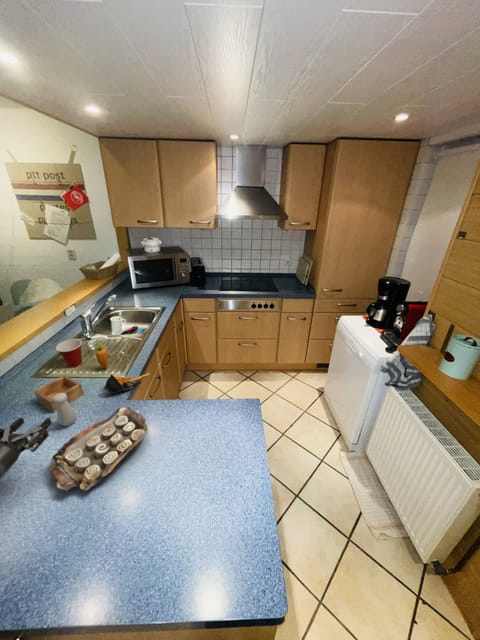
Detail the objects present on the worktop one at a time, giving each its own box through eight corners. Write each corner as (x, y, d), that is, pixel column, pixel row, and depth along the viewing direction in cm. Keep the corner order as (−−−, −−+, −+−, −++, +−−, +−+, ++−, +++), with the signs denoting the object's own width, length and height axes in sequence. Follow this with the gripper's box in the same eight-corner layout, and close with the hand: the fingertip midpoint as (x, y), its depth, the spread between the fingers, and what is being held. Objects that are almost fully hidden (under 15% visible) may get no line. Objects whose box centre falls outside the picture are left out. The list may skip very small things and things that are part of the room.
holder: (54, 412, 99) (49, 401, 96) (38, 401, 104) (33, 391, 101) (84, 394, 108) (80, 384, 106) (67, 385, 113) (64, 375, 111)
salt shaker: (80, 415, 97) (71, 389, 92) (74, 427, 92) (64, 400, 87) (63, 417, 96) (53, 391, 91) (56, 429, 91) (45, 402, 86)
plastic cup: (58, 372, 122) (51, 351, 117) (67, 359, 131) (61, 339, 126) (83, 369, 124) (76, 348, 119) (90, 357, 134) (84, 337, 128)
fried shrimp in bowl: (97, 381, 109) (133, 354, 118) (114, 399, 112) (147, 372, 121) (101, 385, 101) (138, 356, 110) (118, 404, 105) (153, 375, 114)
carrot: (108, 372, 122) (102, 345, 116) (98, 372, 122) (90, 346, 116) (112, 366, 127) (106, 340, 120) (102, 366, 126) (95, 340, 120)
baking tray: (81, 512, 67) (76, 500, 65) (38, 474, 76) (32, 462, 74) (162, 432, 91) (160, 421, 89) (122, 409, 100) (119, 399, 98)
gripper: (11, 459, 62) (54, 410, 77) (-46, 459, 62) (8, 410, 77) (22, 478, 66) (62, 428, 80) (-33, 478, 65) (17, 428, 80)
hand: (35, 419), depth 79 cm, fingers open, 8 cm apart
